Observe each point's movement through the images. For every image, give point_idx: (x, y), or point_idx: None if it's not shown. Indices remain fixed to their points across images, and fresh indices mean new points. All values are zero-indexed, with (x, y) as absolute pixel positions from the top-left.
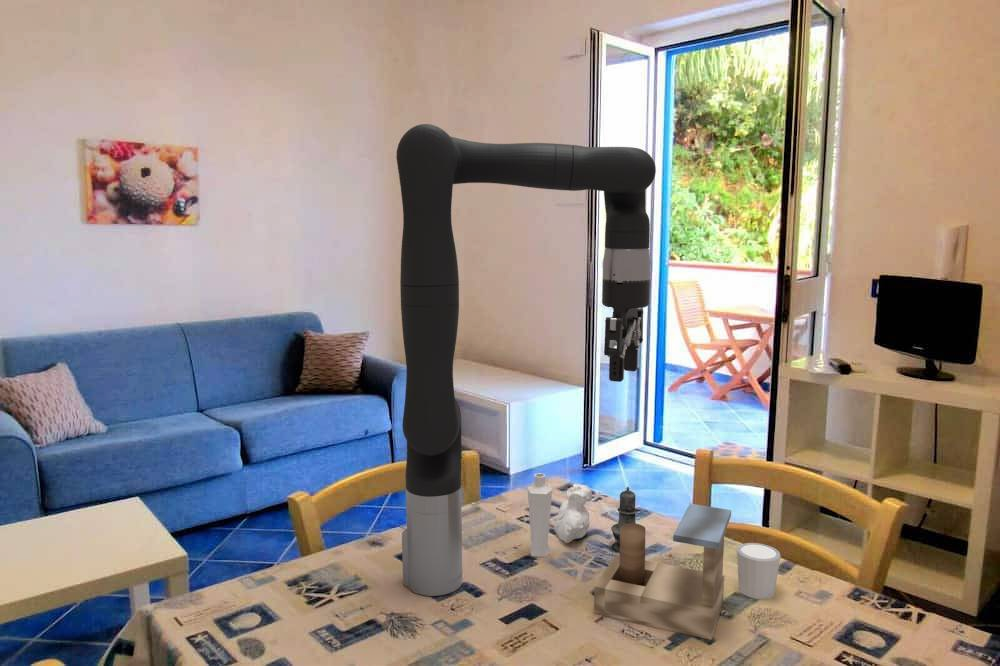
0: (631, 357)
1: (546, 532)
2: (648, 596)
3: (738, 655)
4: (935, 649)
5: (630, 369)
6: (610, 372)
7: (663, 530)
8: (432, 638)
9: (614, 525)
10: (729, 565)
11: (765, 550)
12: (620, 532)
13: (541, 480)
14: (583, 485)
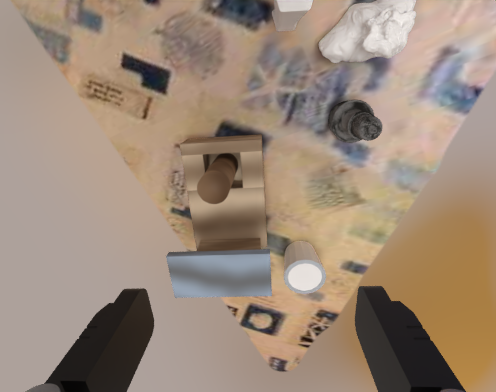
0: (381, 369)
1: (285, 23)
2: (190, 197)
3: None
4: (267, 350)
5: (359, 311)
6: (88, 324)
7: (411, 145)
8: (51, 5)
9: (358, 102)
10: (341, 227)
11: (310, 282)
12: (203, 175)
13: None
14: (405, 34)
